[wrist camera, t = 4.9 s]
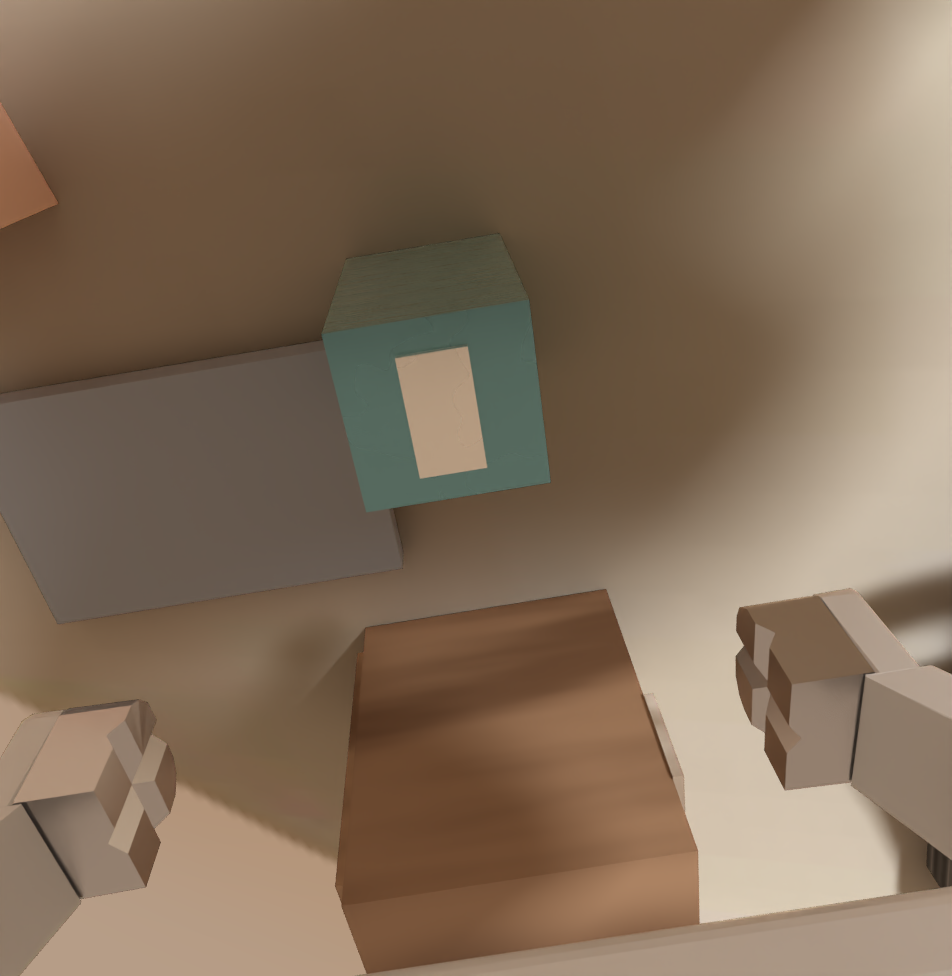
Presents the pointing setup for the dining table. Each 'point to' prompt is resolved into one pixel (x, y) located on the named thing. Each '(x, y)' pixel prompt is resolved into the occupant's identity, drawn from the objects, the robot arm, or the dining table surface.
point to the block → (19, 178)
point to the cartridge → (437, 373)
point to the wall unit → (508, 789)
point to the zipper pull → (939, 866)
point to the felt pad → (187, 484)
